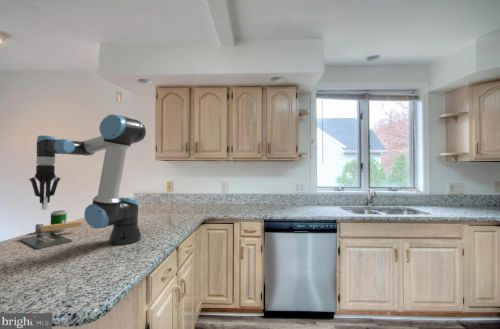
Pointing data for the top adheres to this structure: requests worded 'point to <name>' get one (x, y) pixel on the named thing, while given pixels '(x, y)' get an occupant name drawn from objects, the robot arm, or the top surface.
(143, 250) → the top surface
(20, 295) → the top surface
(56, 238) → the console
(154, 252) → the top surface
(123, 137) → the robot arm
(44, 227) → the bar
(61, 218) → the soda can
